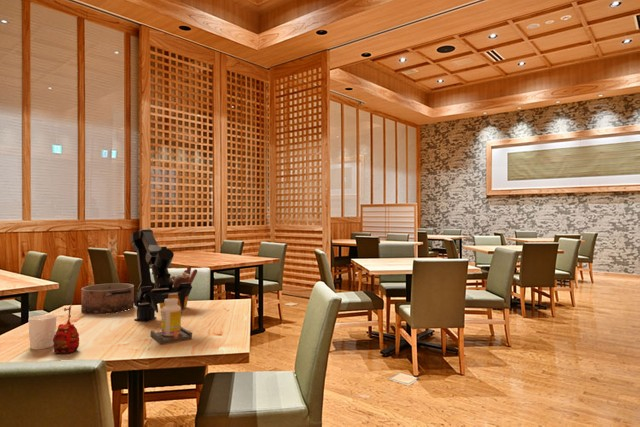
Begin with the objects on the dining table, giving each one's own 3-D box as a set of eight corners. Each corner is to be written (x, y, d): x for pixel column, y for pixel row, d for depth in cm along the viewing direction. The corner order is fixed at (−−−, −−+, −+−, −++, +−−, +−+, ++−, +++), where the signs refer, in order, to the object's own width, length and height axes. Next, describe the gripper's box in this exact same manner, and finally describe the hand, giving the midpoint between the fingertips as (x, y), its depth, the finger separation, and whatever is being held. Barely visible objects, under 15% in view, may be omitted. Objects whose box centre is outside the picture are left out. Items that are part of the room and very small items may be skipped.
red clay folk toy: (47, 354, 132) (48, 307, 133) (61, 348, 140) (62, 303, 140) (71, 354, 133) (72, 307, 133) (84, 348, 140) (84, 303, 140)
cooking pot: (68, 309, 199) (69, 286, 199) (114, 301, 217) (115, 281, 217) (99, 318, 182) (100, 293, 182) (147, 309, 200) (147, 287, 200)
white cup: (36, 343, 144) (37, 314, 144) (60, 343, 145) (61, 314, 145) (22, 350, 136) (23, 320, 137) (48, 350, 137) (48, 319, 137)
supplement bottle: (183, 332, 155) (184, 297, 155) (175, 337, 148) (176, 301, 149) (166, 331, 156) (166, 297, 156) (157, 336, 149) (158, 300, 149)
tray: (150, 336, 153) (150, 327, 153) (180, 331, 160) (180, 323, 160) (160, 344, 144) (160, 335, 144) (191, 339, 150) (192, 330, 150)
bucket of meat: (165, 314, 188) (166, 270, 188) (145, 309, 198) (146, 267, 198) (202, 307, 204) (202, 266, 204) (182, 303, 214) (182, 264, 214)
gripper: (180, 286, 172) (189, 319, 163) (131, 291, 160) (139, 326, 152) (187, 269, 165) (197, 302, 157) (137, 273, 154) (145, 308, 145)
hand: (170, 310), depth 153 cm, fingers open, 9 cm apart
